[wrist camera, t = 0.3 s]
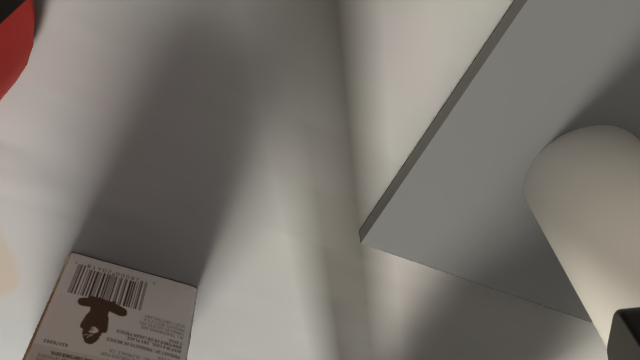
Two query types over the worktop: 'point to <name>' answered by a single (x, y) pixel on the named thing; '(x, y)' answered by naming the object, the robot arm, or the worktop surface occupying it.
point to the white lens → (592, 215)
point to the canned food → (15, 40)
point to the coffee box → (113, 315)
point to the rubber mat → (511, 146)
